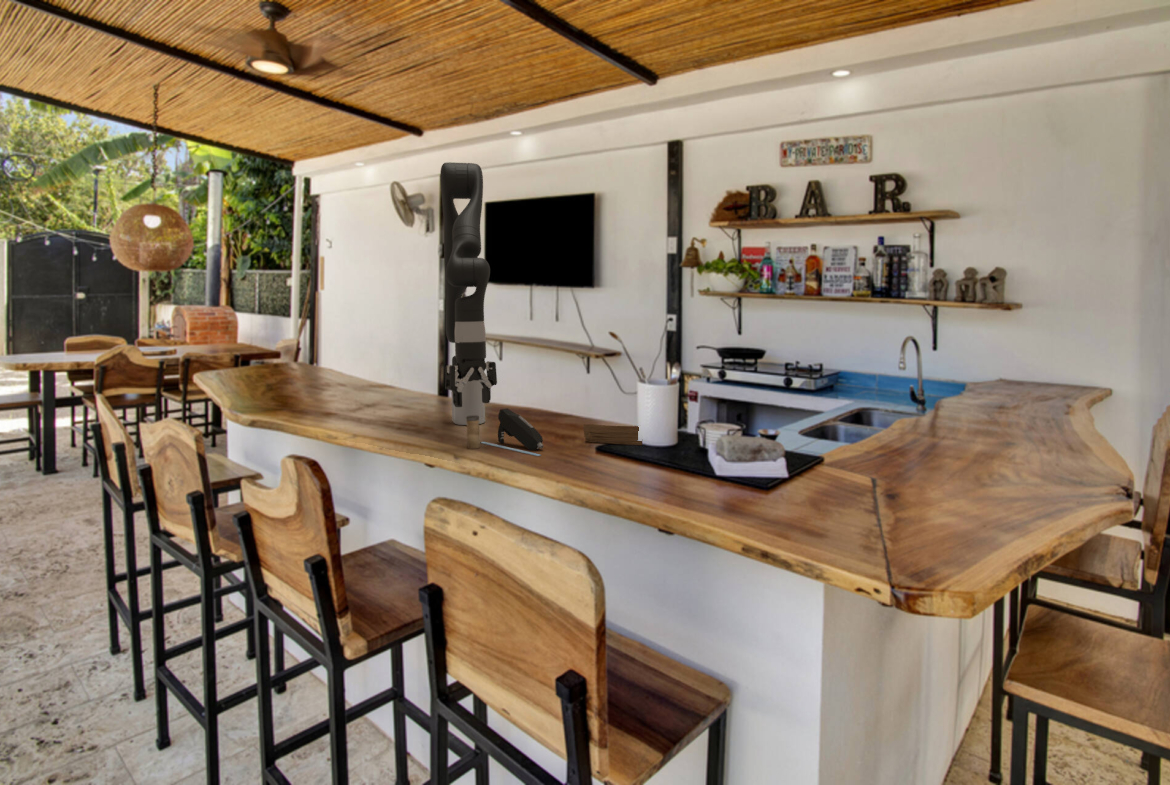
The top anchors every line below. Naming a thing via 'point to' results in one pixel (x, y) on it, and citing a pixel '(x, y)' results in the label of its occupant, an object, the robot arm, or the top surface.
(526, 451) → the tape line
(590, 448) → the top surface
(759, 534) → the top surface
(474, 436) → the peg
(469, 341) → the robot arm
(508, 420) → the gun
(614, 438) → the wood plank
